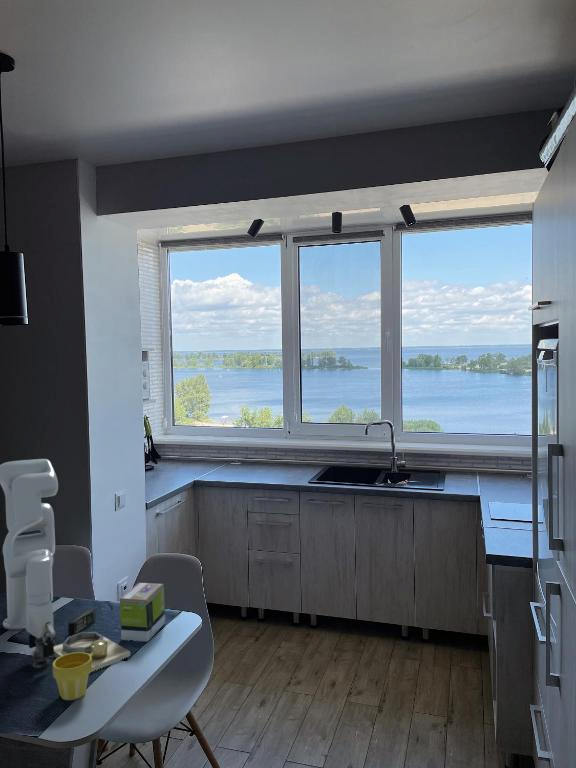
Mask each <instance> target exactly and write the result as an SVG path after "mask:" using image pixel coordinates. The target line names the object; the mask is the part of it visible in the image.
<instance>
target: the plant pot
mask: <svg viewBox="0 0 576 768" xmlns="http://www.w3.org/2000/svg"><path fill="white" fill-rule="evenodd" d="M91 669H92V657H91V655H90V654H88V653H84V652H74V653H68V654H65V655H62V656H60V657H58V658H57V657H56V659H54V660H53V662H52V676H53V678H54V679H55V680H56V684H57V688H58V691H59V695H60V697H61V700H64V701H76V700H77V699H80V698H82V697H83V696H84V695H85V694H86V690H87V685H88V680H89V675H90V673H89V672H90V671H91Z"/></svg>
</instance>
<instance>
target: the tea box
mask: <svg viewBox="0 0 576 768" xmlns="http://www.w3.org/2000/svg"><path fill="white" fill-rule="evenodd" d="M165 609H166V608H165V587H164V583H150V582H138V583H136V584H135V586H133V587H132V588H131V589H130V590H128V591H127V592H126V593H124V594H123V595H122V596H121V597H120V598H119V614H120V615H119V617H120V634H121V635H120V638H121V640H122V641H130V640H133V641H134V642H144V643H145V642H149V640H150V639H152V638H153V636H154V635H155V634H156V633H157V632H158V631H159V630H160V629H161V628H162V627H163V626H164V625H165V623H166V613H165Z"/></svg>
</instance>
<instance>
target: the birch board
mask: <svg viewBox="0 0 576 768" xmlns="http://www.w3.org/2000/svg"><path fill="white" fill-rule="evenodd" d="M102 636H103V640H106V641H107V652H108V655H107V656H106V657H105V658H103V659H99V660H94V659H92V669H91V671H90V672H89V674H91V672H92V673H94V672H96V671H99V670H100V668H101V669H103V667H104V668H106V667H108V666H111V665H113V664H116V663H118V662H121V661H122V659H123V660H124V658H125V659H127V658H129V656H130V657H131V651H130V650H128V649H127V648H124V647H123V646H122V645H120V644H118V643H116V642H114V641H112V640H110V639H109V638H107V637H106V636H104V635H102ZM93 641H96V640H95V639H81V640H78V641H76V642H73V643H70V644H69V646H70V647H86V646H89V645H91V643H92V642H93ZM63 643H64V642H63ZM63 643H60V644H57V645H54V654H53V655H52V656H54V657H55V658H56V659H57V658H58V657H60V656H62V655H65V654H68V653H66V652H65V651H63ZM88 654H90V655H91V652H90V653H88ZM126 657H127V658H126ZM105 666H106V667H105ZM98 669H99V670H98ZM95 670H96V671H95ZM93 671H94V672H93Z"/></svg>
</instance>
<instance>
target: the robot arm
mask: <svg viewBox="0 0 576 768" xmlns="http://www.w3.org/2000/svg"><path fill="white" fill-rule="evenodd" d="M58 481H59V480H58V477H57V474H56V472H55V469H54V467H53V465H52V462H51V461H50V460H49V459H47V458H37V459H35V458H34V459H22V460H21V459H20V460H13V461H12V460H11V461H7V462H3V463H2V464H0V486H1V488H2V490H3V491H2V492H3V493H4V496H5V497H4V498H5V518H6V521H5V523H6V528H7V530H8V533H7V535H6V536H5V539H4V542H3V545H2V555H3V562H4V563H3V564H4V570H5V576H6V577H5V578H6V606H7V607H6V610H7V611H6V612H7V613H6V614H7V618H5V619H4V620H3V622H2V627H3V628H4V629H6V630H11V631H13V630H14V631H15V630H24V629H25V630H26V632H27V634H28V648H29V649H32V648H36V643H35V640H36V637H37V638H41V637H42V639H43V642H44V645H43V657H44V658H46V657H49V658H50V657H51V656H54V655H53V654H54V646H55V644H54V643H55V638H56V637H55V636H56V630H54V629H55V623H54V622H55V621H54V609H53V604H52V602H53V601H54V599H53V598H54V594H53V589H54V588H53V564H54V554H55V551H56V534H55V532H56V531H55V530H56V528H55V517H54V516H55V515H54V514H55V513H54V510H53V507H52V506H51V504H50V503H47V502H46V503H45V502H42V498H48V497H54V496H56V495H57V493H58V491H59V482H58ZM34 531H40V532H38V533H31V534H24V535H23V534H22V533H27V532H28V533H29V532H34ZM21 534H22V535H21ZM44 633H46V634H44ZM47 637H48V638H47ZM46 638H47V640H46Z"/></svg>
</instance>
